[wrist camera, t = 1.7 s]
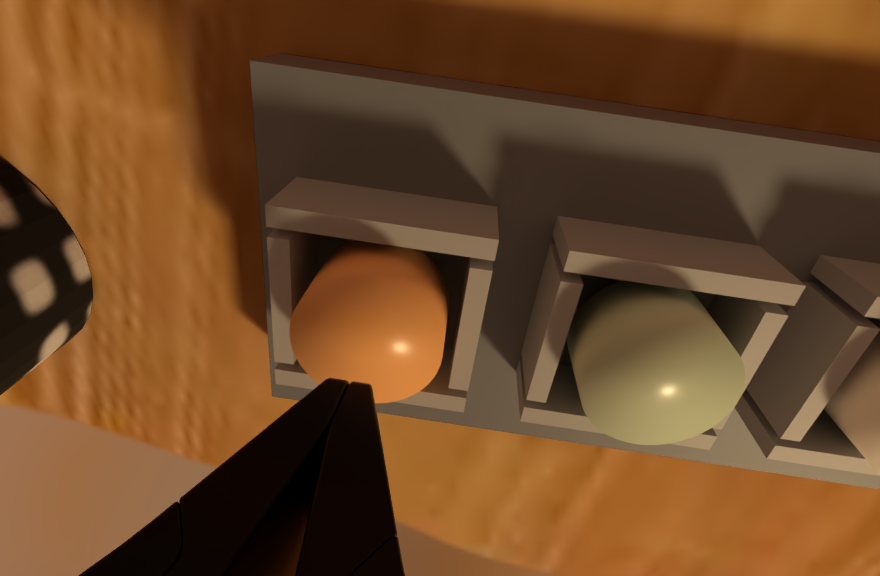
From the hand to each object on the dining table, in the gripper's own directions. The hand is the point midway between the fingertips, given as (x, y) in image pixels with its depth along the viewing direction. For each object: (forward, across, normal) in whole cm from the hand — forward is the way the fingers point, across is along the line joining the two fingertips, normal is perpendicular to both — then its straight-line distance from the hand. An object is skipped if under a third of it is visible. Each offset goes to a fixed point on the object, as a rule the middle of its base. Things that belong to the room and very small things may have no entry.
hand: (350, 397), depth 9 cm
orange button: (+4, 0, 0) cm, 4 cm away
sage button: (+4, -6, 0) cm, 7 cm away
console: (+7, -6, 0) cm, 9 cm away
